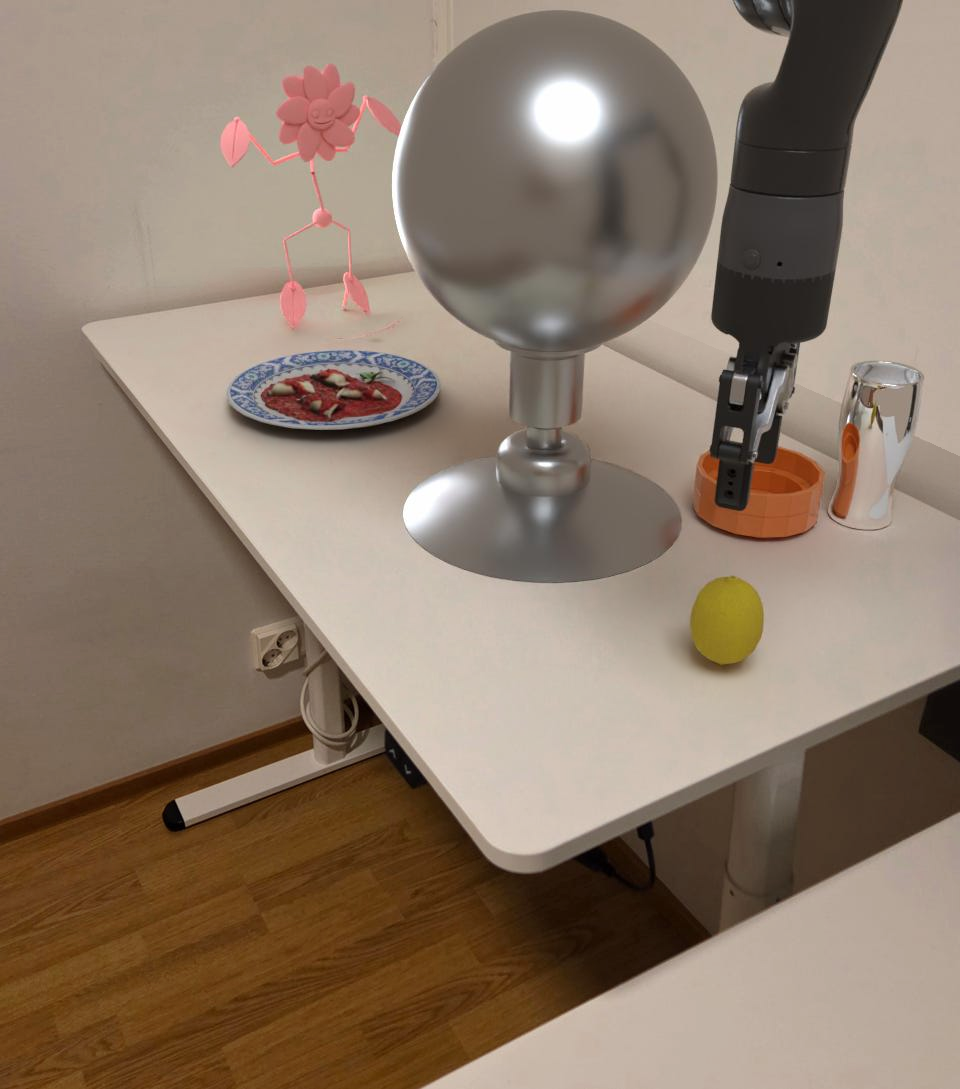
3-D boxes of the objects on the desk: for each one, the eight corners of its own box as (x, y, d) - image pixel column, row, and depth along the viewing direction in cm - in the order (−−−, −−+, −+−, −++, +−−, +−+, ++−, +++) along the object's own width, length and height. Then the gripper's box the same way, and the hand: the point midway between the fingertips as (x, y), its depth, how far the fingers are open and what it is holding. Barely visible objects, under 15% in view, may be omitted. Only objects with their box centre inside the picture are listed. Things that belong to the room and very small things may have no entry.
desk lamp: (570, 617, 93) (601, 30, 71) (345, 516, 109) (313, 10, 87) (733, 504, 111) (798, 10, 89) (520, 432, 127) (531, -4, 105)
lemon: (671, 661, 87) (680, 574, 84) (716, 636, 91) (727, 551, 87) (726, 693, 84) (738, 604, 80) (771, 666, 87) (785, 579, 83)
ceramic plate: (290, 464, 119) (288, 439, 118) (193, 393, 137) (190, 370, 136) (482, 411, 132) (483, 388, 131) (371, 352, 150) (370, 331, 149)
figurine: (231, 326, 160) (203, 65, 143) (388, 299, 172) (379, 55, 155) (273, 356, 149) (247, 77, 132) (438, 325, 161) (434, 65, 144)
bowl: (793, 485, 115) (800, 441, 113) (834, 541, 105) (842, 494, 102) (680, 488, 114) (685, 444, 112) (709, 545, 104) (715, 497, 101)
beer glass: (808, 514, 109) (833, 370, 102) (847, 493, 114) (873, 354, 106) (871, 539, 105) (901, 391, 98) (909, 517, 109) (941, 373, 102)
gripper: (813, 293, 64) (775, 536, 72) (854, 240, 76) (818, 455, 84) (689, 277, 67) (665, 513, 75) (746, 228, 78) (720, 438, 86)
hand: (746, 482), depth 79 cm, fingers open, 8 cm apart
